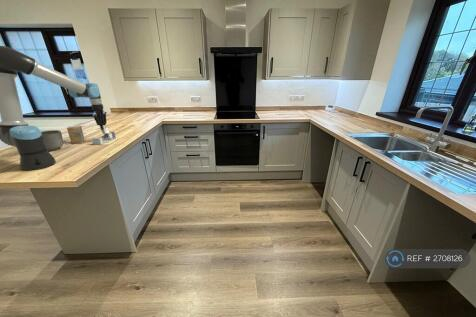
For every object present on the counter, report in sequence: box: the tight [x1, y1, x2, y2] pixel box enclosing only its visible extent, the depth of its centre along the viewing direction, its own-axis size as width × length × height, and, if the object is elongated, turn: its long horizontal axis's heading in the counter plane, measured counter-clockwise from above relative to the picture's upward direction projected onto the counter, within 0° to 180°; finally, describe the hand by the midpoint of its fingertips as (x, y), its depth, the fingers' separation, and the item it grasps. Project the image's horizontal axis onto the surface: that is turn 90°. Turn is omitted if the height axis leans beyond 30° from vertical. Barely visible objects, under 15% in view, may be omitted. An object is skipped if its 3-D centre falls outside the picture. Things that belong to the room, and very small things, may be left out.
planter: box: [41, 129, 64, 152], centre depth 141 cm, size 14×14×13 cm
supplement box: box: [66, 126, 86, 144], centre depth 157 cm, size 8×5×13 cm, turn 105°
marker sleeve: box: [102, 126, 113, 139], centre depth 165 cm, size 3×5×9 cm, turn 85°
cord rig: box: [91, 131, 117, 146], centre depth 163 cm, size 20×8×6 cm, turn 175°
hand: (104, 132), depth 162 cm, fingers closed
